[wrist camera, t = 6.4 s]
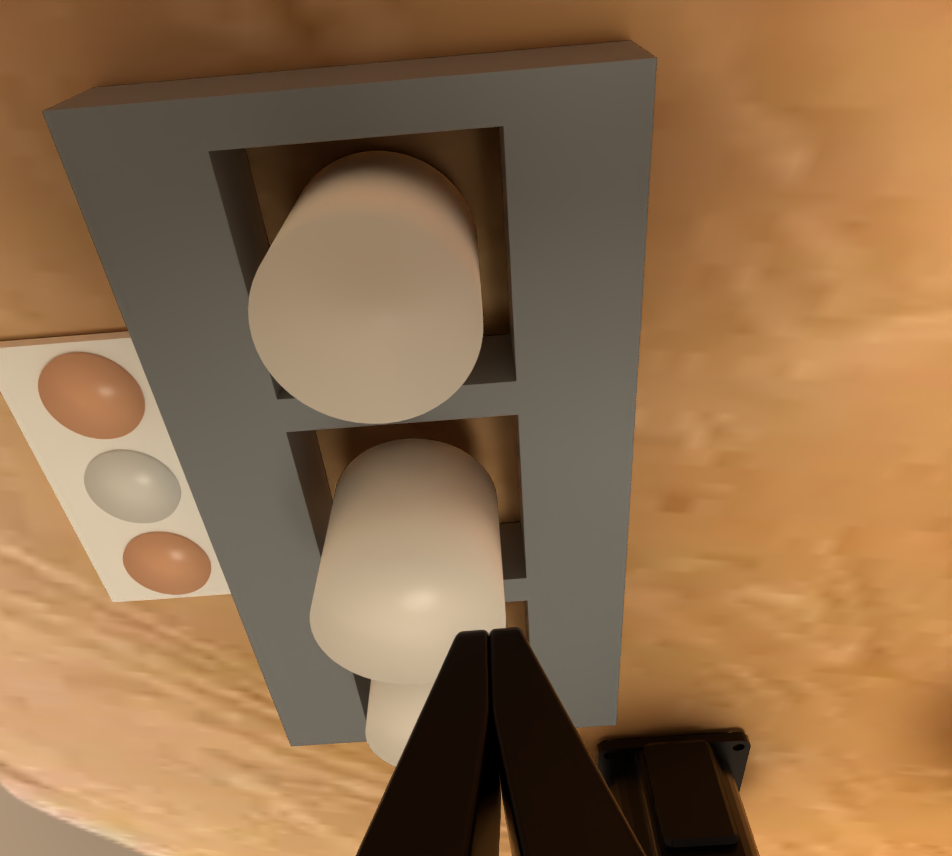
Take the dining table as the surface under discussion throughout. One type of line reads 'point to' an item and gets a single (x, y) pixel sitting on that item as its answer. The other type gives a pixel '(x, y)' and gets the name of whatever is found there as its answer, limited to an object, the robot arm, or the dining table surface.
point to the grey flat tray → (482, 395)
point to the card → (111, 463)
